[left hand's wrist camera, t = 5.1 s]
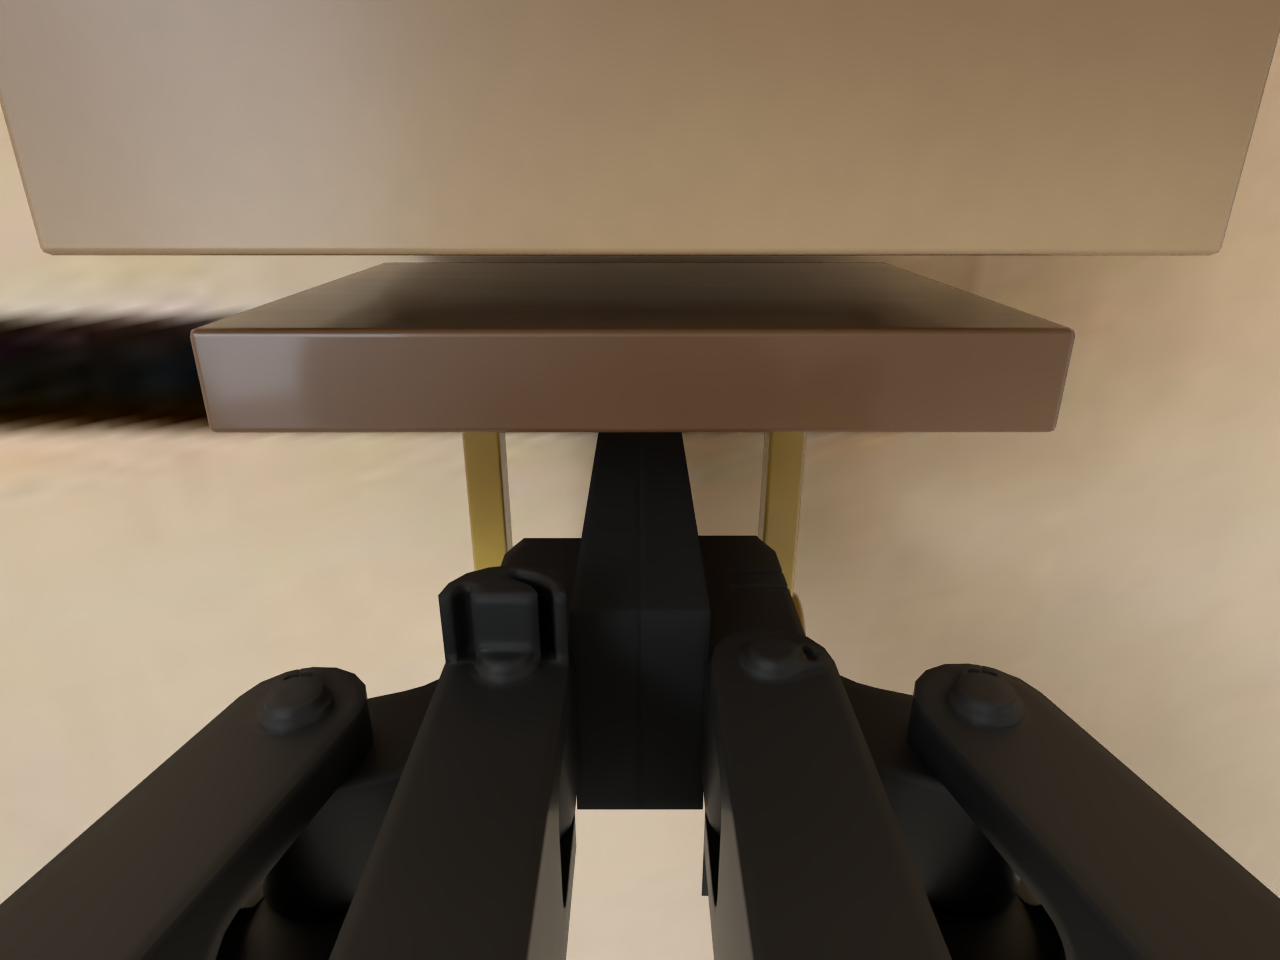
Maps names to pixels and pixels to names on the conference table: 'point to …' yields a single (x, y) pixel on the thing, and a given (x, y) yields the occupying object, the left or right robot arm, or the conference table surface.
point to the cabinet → (633, 125)
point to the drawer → (632, 363)
